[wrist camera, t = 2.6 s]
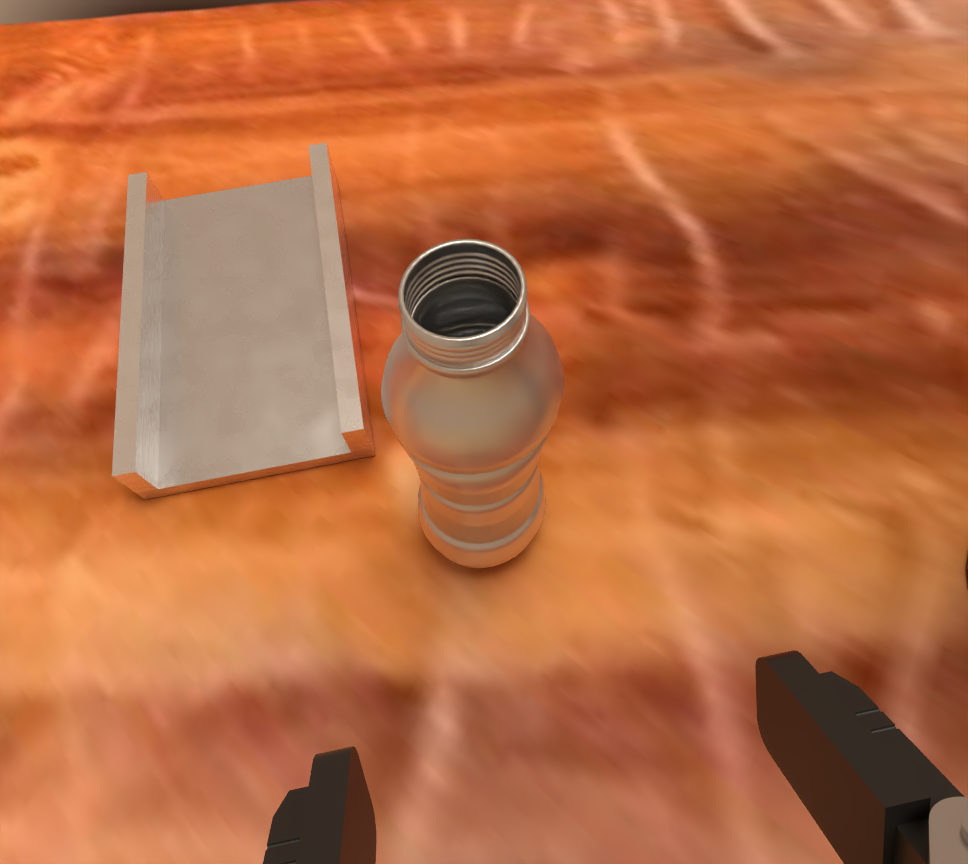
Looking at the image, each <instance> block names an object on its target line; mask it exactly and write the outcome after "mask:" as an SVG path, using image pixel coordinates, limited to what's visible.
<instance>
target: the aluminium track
mask: <svg viewBox="0 0 968 864" xmlns="http://www.w3.org/2000/svg"><path fill="white" fill-rule="evenodd" d="M309 153H310V162H311V171H312V176H308V177H302V178H295V179H289V180H283V181H277V182H271V183H265V184H259V185H253V186H247V187H241V188H235V189H229V190H223V191H217V192H211V193H205V194H199V195H193V196H187V197H181V198H175V199H169V200H164V199H163V198H162V196H161V194H160V193H159V191H158V189H157V188H156V186H155V185H154V183H153V181H152V180H151V178H150V176H149V175H148V173H147V172H144V173H138V174H132V175H128V193H127V211H126V230H125V248H124V266H123V284H122V302H121V320H120V339H119V357H118V375H117V393H116V411H115V430H114V448H113V466H112V477H114V478H115V479H117V480H118V481H119V482H121V483H122V484H124V485H125V486H126V487H128V488H129V489H131V490H132V491H133V492H135V493H136V494H138V495H139V496H140V497H142V498H143V499H145V500H146V499H151V498H156V497H161V496H166V495H172V494H177V493H182V492H187V491H193V490H198V489H203V488H208V487H214V486H219V485H224V484H229V483H234V482H240V481H245V480H250V479H255V478H261V477H266V476H271V475H276V474H282V473H287V472H292V471H297V470H302V469H308V468H313V467H318V466H323V465H329V464H334V463H339V462H344V461H350V460H355V459H360V458H365V457H370V456H375V448H374V441H373V434H372V427H371V419H370V412H369V405H368V397H367V390H366V383H365V375H364V368H363V361H362V353H361V346H360V339H359V331H358V324H357V317H356V310H355V302H354V295H353V288H352V280H351V273H350V266H349V258H348V251H347V244H346V236H345V229H344V222H343V214H342V207H341V200H340V193H339V185H338V181H337V177H336V174H335V170H334V167H333V164H332V160H331V157H330V153H329V150H328V147H327V143H322V144H315V145H309Z"/></svg>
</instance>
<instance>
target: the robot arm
mask: <svg viewBox="0 0 968 864" xmlns="http://www.w3.org/2000/svg"><path fill="white" fill-rule="evenodd" d="M967 567H968V566H967ZM756 697H757V721H758V726H759V730H760V734H761V737H762V739H763V742H764V744H765V746H766V748H767V750H768V752H769V753H770V755H771V756H772V758H773V759H774V761H775V762H776V764H777V765H778V767H779V768H780V770H781V771H782V773H783V774H784V776H785V777H786V779H787V780H788V782H789V783H790V785H791V786H792V787H793V789H794V790H795V792H796V793H797V795H798V796H799V798H800V799H801V801H802V802H803V804H804V805H805V807H806V808H807V810H808V811H809V813H810V814H811V816H812V817H813V818H814V820H815V821H816V823H817V824H818V826H819V827H820V829H821V830H822V832H823V833H824V835H825V836H826V838H827V839H828V841H829V842H830V844H831V845H832V847H833V848H834V849H835V851H836V852H837V854H838V855H839V857H840V858H841V860H842V861H843V863H844V864H968V797H965V796H963V795H962V794H961V793H960V792H959V791H958V790H957V789H956V788H955V787H954V786H953V785H952V783H951V782H950V781H949V780H948V779H947V778H946V777H945V776H944V775H943V774H942V773H941V772H940V771H939V770H938V769H937V768H936V767H935V766H934V765H933V764H932V763H931V762H930V761H929V760H928V759H927V757H926V756H925V755H924V754H923V753H922V752H921V751H920V750H919V749H918V748H917V747H916V746H915V745H914V744H913V743H912V742H911V741H910V740H909V739H908V738H907V737H906V736H905V735H904V734H903V733H902V731H901V730H900V729H896V727H895V724H894V723H893V722H892V721H891V720H890V719H889V718H888V717H887V716H886V715H885V714H884V713H883V712H880V711H879V708H878V707H877V705H876V704H875V703H874V702H873V701H872V700H871V699H870V698H869V697H868V696H867V695H866V694H865V693H864V692H863V691H862V690H861V689H860V688H859V687H858V686H856V685H854V684H853V683H851V682H849V681H847V680H846V679H844V678H842V677H840V676H839V675H837V674H835V673H833V672H832V671H831V672H826V673H822V674H819V673H818V672H817V671H816V670H815V669H814V668H813V666H812V665H811V664H810V663H809V662H808V661H807V660H806V659H805V658H804V656H803V655H802V654H801V653H799V652H798V651H789V652H784V653H780V654H775V655H770V656H766V657H761V658H758V659H757V661H756ZM375 862H376V824H375V816H374V810H373V806H372V802H371V798H370V795H369V791H368V788H367V784H366V781H365V777H364V773H363V770H362V766H361V763H360V759H359V756H358V753H357V750H356V748H355V747H354V746H353V747H348V748H343V749H339V750H334V751H330V752H325V753H320V754H316V755H315V757H314V759H313V764H312V770H311V776H310V782H309V786H308V787H304V788H299V789H295V790H290V791H289V792H288V794H287V795H286V797H285V799H284V800H283V802H282V803H281V805H280V807H279V808H278V810H277V811H276V813H275V815H274V816H273V820H272V824H271V829H270V833H269V838H268V843H267V850H266V852H265V857H264V861H263V864H375Z"/></svg>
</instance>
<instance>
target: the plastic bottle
mask: <svg viewBox="0 0 968 864" xmlns="http://www.w3.org/2000/svg"><path fill="white" fill-rule="evenodd" d="M398 298H399V308H400V312H401V315H402V318H401V325H402V332H401V334H400V335H399V337H398V338H397V340H396V341H395V342H394V344H393V346H392V348H391V351H390V353H389V355H388V357H387V362H386V366H385V370H384V375H383V380H382V385H381V394H382V405H383V408H384V412H385V416H386V418H387V420H388V422H389V424H390V426H391V428H392V430H393V432H394V434H395V436H396V438H397V440H398V441H399V443H400V444H401V445H402V447H403V448H404V449H405V451H406V452H407V454H408V455H409V456H410V458H411V459H412V461H413V462H414V464H415V466H416V469H417V471H418V473H419V476H420V489H419V495H418V515H419V520H420V524H421V528H422V530H423V532H424V534H425V536H426V538H427V539H428V541H429V542H430V543H431V544H432V545H433V547H434V548H435V549H436V550H438V551H439V552H440V553H441V554H443V555H444V556H445V557H446V558H448V559H449V560H451V561H453V562H455V563H457V564H459V565H463V566H466V567H471V568H487V567H494V566H497V565H500V564H503V563H505V562H507V561H509V560H511V559H512V558H514V557H516V556H517V555H518V554H519V553H520V552H522V551H523V550H524V549H525V548H526V546H527V545H528V544H529V543H530V541H531V540H532V539H533V538H534V536H535V535H536V534H537V532H538V530H539V528H540V526H541V524H542V521H543V517H544V514H545V505H546V497H545V489H544V484H543V479H542V476H541V473H540V471H539V458H540V454H541V450H542V447H543V445H544V443H545V440H546V438H547V436H548V434H549V432H550V430H551V428H552V426H553V424H554V422H555V420H556V416H557V413H558V410H559V406H560V403H561V400H562V396H563V389H564V374H563V368H562V362H561V360H560V358H559V355H558V353H557V350H556V348H555V345H554V343H553V340H552V338H551V336H550V335H549V333H548V332H547V330H546V329H545V328H544V326H543V325H542V324H541V323H540V322H539V321H538V320H537V319H536V318H535V317H534V316H532V315H531V314H530V312H529V305H528V301H527V286H526V280H525V276H524V273H523V271H522V268H521V266H520V265H519V263H518V262H517V260H516V259H515V258H514V257H513V256H512V255H511V254H510V253H509V252H508V251H506V250H504V249H503V248H501V247H499V246H498V245H495V244H492V243H490V242H487V241H482V240H476V239H460V240H452V241H448V242H444V243H441V244H438V245H436V246H434V247H432V248H429V249H428V250H426V251H425V252H423V253H422V254H420V255H419V256H418V257H417V258H416V259H415V260H414V261H413V262H412V263H411V264H410V265H409V267H408V268H407V269H406V271H405V272H404V275H403V277H402V279H401V282H400V286H399V295H398Z"/></svg>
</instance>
